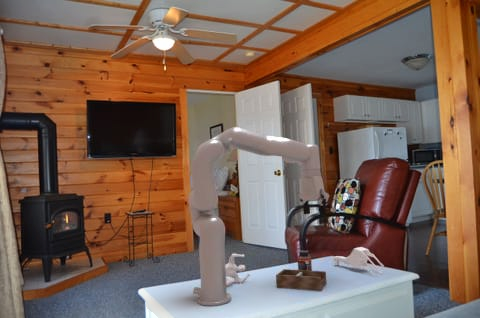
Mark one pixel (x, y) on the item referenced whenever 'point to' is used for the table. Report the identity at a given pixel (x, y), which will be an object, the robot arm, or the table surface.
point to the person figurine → (234, 270)
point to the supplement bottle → (304, 261)
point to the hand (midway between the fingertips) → (314, 214)
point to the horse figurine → (358, 259)
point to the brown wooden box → (301, 280)
